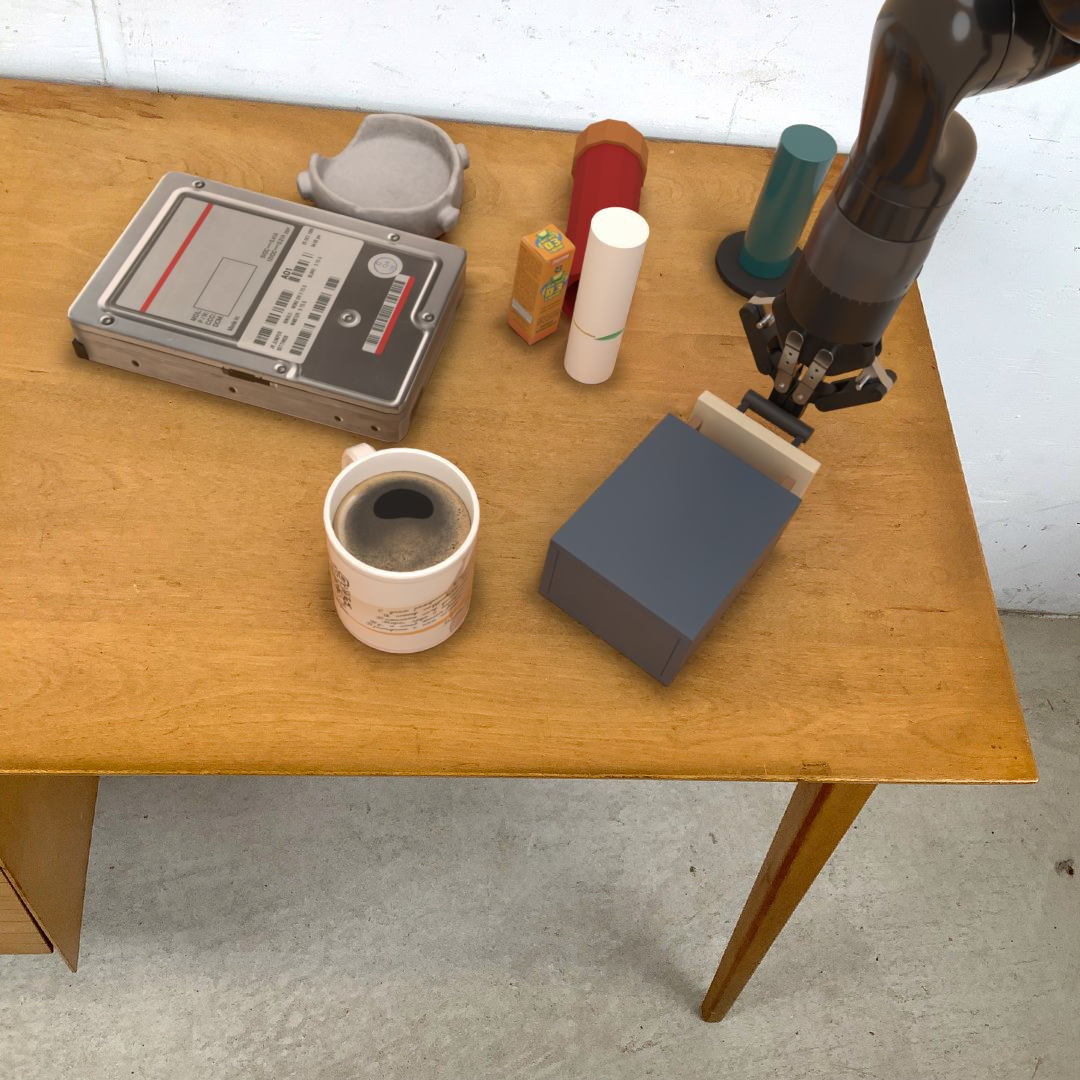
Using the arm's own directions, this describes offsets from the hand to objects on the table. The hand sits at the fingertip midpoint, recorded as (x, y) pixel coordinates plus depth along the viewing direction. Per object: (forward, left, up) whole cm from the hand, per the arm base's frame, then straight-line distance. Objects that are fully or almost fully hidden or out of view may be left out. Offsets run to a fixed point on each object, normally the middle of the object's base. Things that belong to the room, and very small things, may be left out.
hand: (780, 418), depth 82 cm
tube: (+16, +4, -3) cm, 17 cm away
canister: (+11, -17, -2) cm, 20 cm away
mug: (+14, +30, -3) cm, 33 cm away
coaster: (+11, -17, -2) cm, 20 cm away
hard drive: (+38, +18, -3) cm, 42 cm away
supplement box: (+22, +4, -3) cm, 22 cm away
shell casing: (+24, -8, -3) cm, 25 cm away
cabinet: (0, +17, -2) cm, 17 cm away
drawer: (0, +10, -2) cm, 10 cm away
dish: (+41, +1, -3) cm, 41 cm away
